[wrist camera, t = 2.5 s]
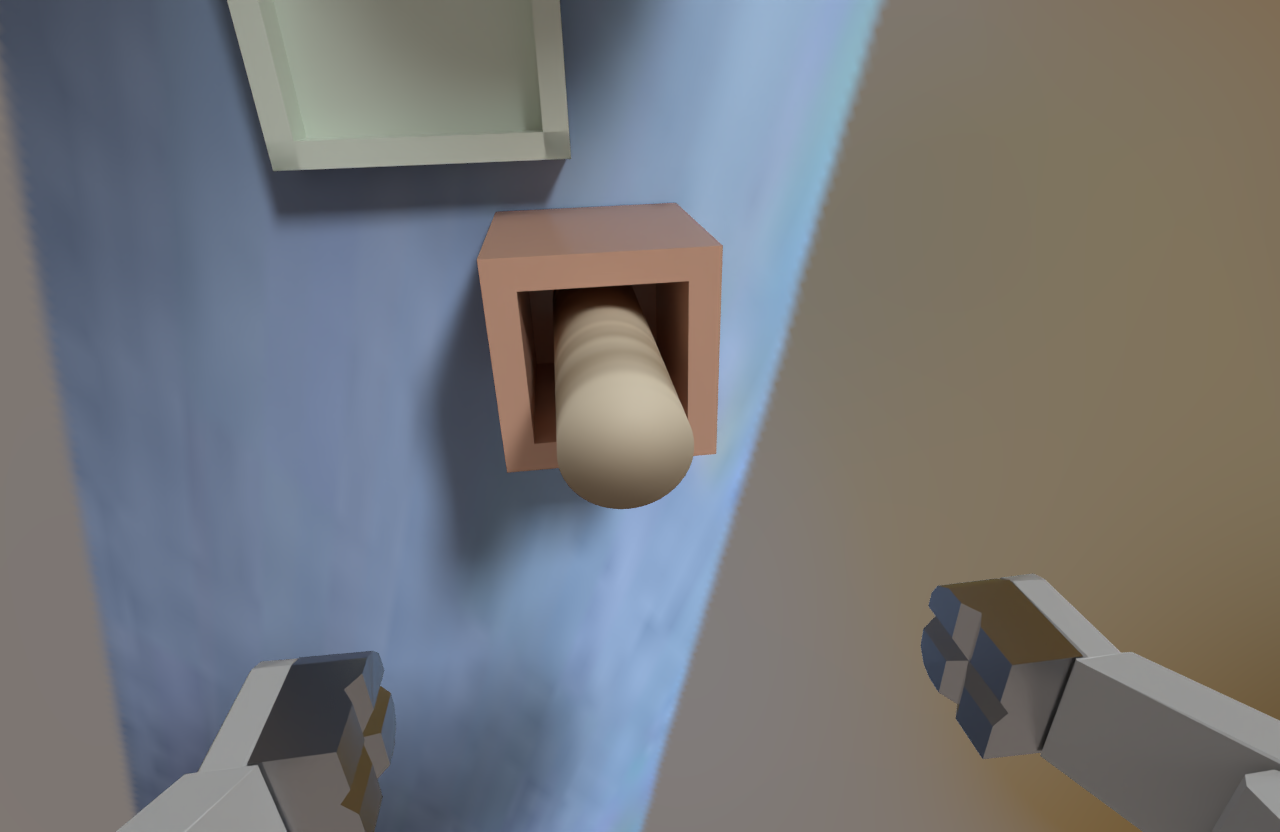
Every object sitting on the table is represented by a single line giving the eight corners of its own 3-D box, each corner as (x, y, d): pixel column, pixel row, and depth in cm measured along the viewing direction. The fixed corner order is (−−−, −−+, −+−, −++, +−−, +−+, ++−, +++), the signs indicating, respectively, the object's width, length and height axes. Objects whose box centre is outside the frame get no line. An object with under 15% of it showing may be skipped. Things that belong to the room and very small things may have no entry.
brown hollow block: (495, 211, 23) (476, 259, 17) (675, 202, 23) (722, 245, 17) (516, 378, 26) (507, 472, 19) (676, 366, 26) (716, 454, 20)
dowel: (549, 262, 23) (550, 394, 13) (633, 257, 23) (695, 383, 14) (556, 342, 24) (562, 514, 15) (635, 336, 25) (693, 502, 15)
